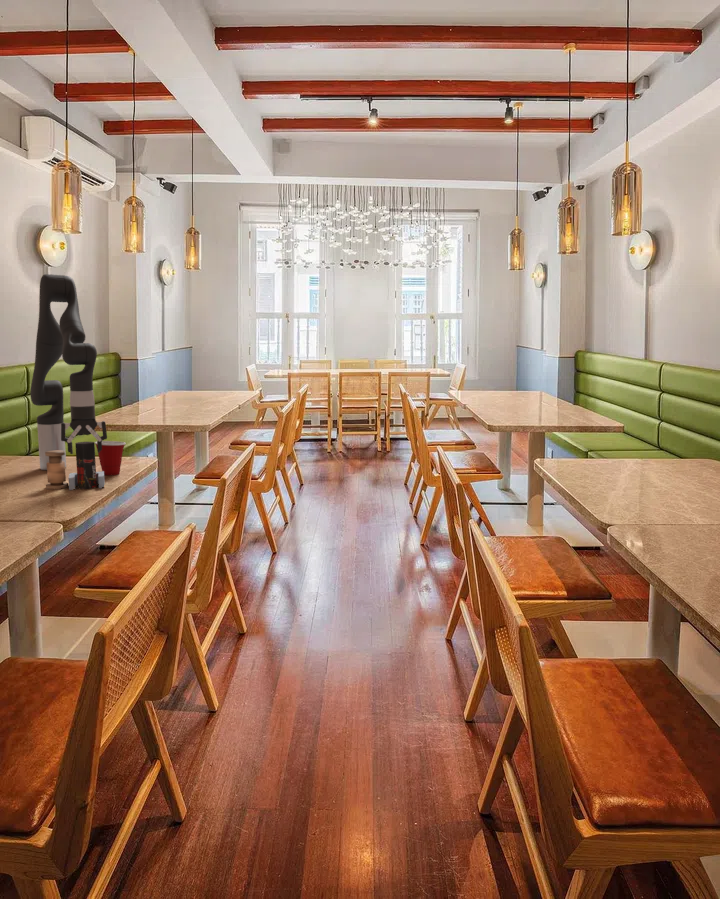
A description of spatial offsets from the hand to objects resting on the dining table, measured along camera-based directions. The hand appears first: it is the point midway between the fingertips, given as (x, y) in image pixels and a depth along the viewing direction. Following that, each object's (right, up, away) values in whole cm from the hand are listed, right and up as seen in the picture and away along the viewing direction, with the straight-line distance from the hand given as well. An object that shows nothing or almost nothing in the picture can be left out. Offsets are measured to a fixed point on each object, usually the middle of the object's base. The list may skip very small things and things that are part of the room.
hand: (85, 453), depth 248 cm
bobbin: (-10, -11, +2) cm, 15 cm away
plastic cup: (+1, -8, +25) cm, 26 cm away
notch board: (0, -11, +3) cm, 12 cm away
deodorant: (0, -12, +2) cm, 12 cm away
